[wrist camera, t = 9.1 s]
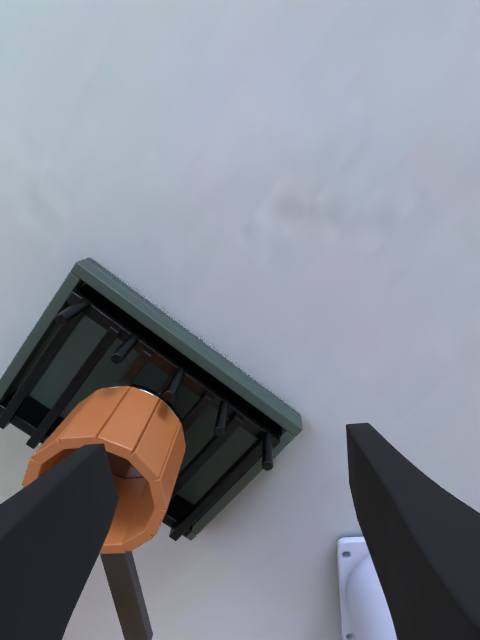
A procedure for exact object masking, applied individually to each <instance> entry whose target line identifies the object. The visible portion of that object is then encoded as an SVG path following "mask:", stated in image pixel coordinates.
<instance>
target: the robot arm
mask: <svg viewBox="0 0 480 640" xmlns="http://www.w3.org/2000/svg"><path fill="white" fill-rule="evenodd" d="M346 432H347V450H348V468H349V484H350V489H351V493H352V498H353V502H354V506H355V511H356V515H357V519H358V522H359V525H360V528H361V530H362V533H363V536H364V537H344V538H341V539H339V540H338V541H337V561H338V578H339V595H340V612H341V629H342V640H480V513H479V512H477V511H476V510H474V509H472V508H471V507H469V506H468V505H466V504H465V503H463V502H462V501H460V500H459V499H457V498H456V497H454V496H453V495H451V494H450V493H449V492H447V491H446V490H444V489H443V488H442V487H440V486H439V485H438V484H436V483H435V482H434V481H433V480H431V479H430V478H429V477H427V476H426V475H425V474H424V473H423V472H421V471H420V470H419V469H418V468H417V467H415V466H414V465H413V464H412V463H411V462H410V461H408V460H407V459H406V458H405V457H404V456H403V455H402V454H401V453H399V452H398V451H397V450H396V449H395V448H394V447H393V446H392V445H391V444H390V443H389V442H388V441H387V440H386V439H385V438H383V437H382V436H381V435H380V434H379V433H378V432H377V431H376V430H375V429H374V428H373V427H372V426H371V425H370V424H369V423H360V424H347V425H346ZM118 500H119V498H118V494H117V490H116V486H115V483H114V479H113V475H112V472H111V468H110V464H109V460H108V457H107V453H106V449H105V446H104V443H100V444H87V445H83V446H82V447H80V448H79V449H77V450H76V451H74V452H73V453H71V454H70V455H68V456H67V457H66V458H64V459H63V460H61V461H60V462H59V463H57V464H56V465H55V466H53V467H52V468H51V469H49V470H48V471H46V472H45V473H44V474H42V475H41V476H40V477H38V478H37V479H36V480H34V481H33V482H32V483H30V484H29V485H27V486H26V487H25V488H23V489H22V490H20V491H19V492H18V493H16V494H15V495H13V496H12V497H10V498H9V499H7V500H6V501H5V502H3V503H2V504H0V640H62V638H63V635H64V632H65V629H66V627H67V624H68V622H69V620H70V617H71V615H72V612H73V610H74V608H75V606H76V603H77V601H78V599H79V597H80V595H81V592H82V590H83V588H84V586H85V584H86V581H87V579H88V577H89V575H90V573H91V570H92V568H93V566H94V564H95V562H96V560H97V557H98V555H99V553H100V551H101V548H102V546H103V544H104V542H105V539H106V537H107V535H108V532H109V529H110V526H111V523H112V520H113V517H114V514H115V510H116V507H117V503H118ZM343 552H346V553H343Z"/></svg>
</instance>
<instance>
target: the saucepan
mask: <svg viewBox="0 0 480 640" xmlns="http://www.w3.org/2000/svg"><path fill="white" fill-rule="evenodd" d="M100 443H104V446H105V449H106V453H107V457H108V460H109V464H110V468H111V472H112V475H113V479H114V483H115V486H116V490H117V494H118V498H119V500H118V503H117V507H116V510H115V514H114V517H113V520H112V523H111V526H110V529H109V532H108V535H107V537H106V539H105V542H104V544H103V546H102V548H101V551H100V553H99V554H100V555H101V559H102V562H103V566H104V569H105V573H106V576H107V580H108V583H109V587H110V590H111V593H112V597H113V600H114V604H115V607H116V611H117V614H118V618H119V621H120V625H121V628H122V632H123V635H124V638H125V640H152V636H153V632H152V629H151V625H150V621H149V617H148V613H147V609H146V605H145V601H144V598H143V594H142V590H141V586H140V582H139V578H138V574H137V570H136V567H135V563H134V559H133V555H132V551H131V550H133V549H134V548H136V547H138V546H140V545H141V544H143V543H145V542H147V541H148V540H150V539H152V538H153V536H155V535H156V533H157V531H158V529H159V527H160V525H161V522H162V520H163V518H164V516H165V514H166V512H167V509H168V505H169V502H170V499H171V496H172V492H173V489H174V486H175V483H176V479H177V476H178V473H179V470H180V466H181V463H182V460H183V457H184V453H185V448H186V432H185V427H184V424H183V421H182V419H181V417H180V415H179V413H178V411H177V410H176V409H175V407H174V406H173V405H172V404H171V403H170V402H169V401H167V400H165V399H164V397H163V396H162V395H160V394H159V393H157V392H156V391H154V390H152V389H149V388H147V387H144V386H141V385H137V384H131V383H116V384H110V385H106V386H103V387H101V388H98V389H96V390H95V391H93V392H91V393H90V394H89V395H88V396H87V397H86V398H85V399H84V400H83V401H81V402H80V403H78V404H77V406H76V407H75V408H74V409H73V410H72V411H71V412H70V414H69V415H68V416H67V417H66V418H65V419H64V420H63V421H62V423H61V424H60V425H59V426H58V427H57V428H56V429H55V431H54V432H53V433H52V434H51V435H50V436H49V437H48V439H47V440H46V441H45V442H44V443H43V444H42V445H41V447H40V448H39V449H38V450H37V451H36V452H35V453H34V455H33V456H32V457H31V459H30V461H29V464H28V468H27V471H26V474H25V477H24V481H23V484H22V485H23V488H25V487H26V486H27V485H29V484H30V483H32V482H33V481H34V480H36V479H37V478H38V477H40V476H41V475H42V474H44V473H45V472H46V471H48V470H49V469H51V468H52V467H53V466H55V465H56V464H57V463H59V462H60V461H61V460H63V459H64V458H66V457H67V456H68V455H70V454H71V453H73V452H74V451H76V450H77V449H79V448H80V447H82V446H83V445H87V444H100ZM23 488H22V489H23Z"/></svg>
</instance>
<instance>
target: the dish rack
mask: <svg viewBox="0 0 480 640" xmlns="http://www.w3.org/2000/svg"><path fill="white" fill-rule="evenodd" d="M116 383H131V384H137V385H141V386H144V387H147V388H149V389H152V390H154V391H156V392H157V393H159V394H160V395H162V396H163V397H164V399H165V400H167V401H169V402H170V403H171V404H172V405H173V406H174V407H175V409H176V410H177V411H178V413H179V415H180V417H181V419H182V421H183V424H184V427H185V432H186V448H185V453H184V457H183V460H182V463H181V466H180V470H179V473H178V476H177V479H176V483H175V486H174V489H173V492H172V496H171V499H170V502H169V505H168V509H167V512H166V514H165V516H164V518H163V520H162V522H163V523H165V524H166V525H168V526H169V527H171V531H170V535H169V537H170V538H172V539H173V540H175V541H177V540H178V539H179V538H180V537H181V536H182V535H183V536H185V537H186V538H188V539H189V540H192V539H193V538H194V537H195V536H196V535H197V534H198V533H199V532H200V531H201V530H202V529H203V528H204V527H205V526H206V525H207V524H208V523H209V522H210V521H211V520H212V519H213V518H214V517H215V516H216V515H217V514H218V513H219V512H220V511H221V510H222V509H223V508H224V507H225V506H226V505H227V504H228V503H229V502H230V501H231V500H232V499H233V498H234V497H235V496H236V495H237V494H238V493H239V492H240V491H241V490H242V489H243V488H244V487H245V486H246V485H247V484H248V483H249V482H250V481H251V480H252V479H253V478H254V477H255V476H256V475H257V474H258V473H259V472H260V471H261V470H262V469H264V470H266V471H269V470H271V469H272V468H273V458H274V457H275V456H276V455H277V454H278V453H279V452H280V451H281V450H282V449H283V448H284V447H285V446H286V445H287V444H288V443H289V442H290V441H291V440H292V439H293V438H294V437H295V436H297V435H298V434H299V433H300V432H301V431H302V422H301V417H300V414H299V413H297V412H296V411H295V410H293V409H292V408H291V407H289V406H288V405H287V404H285V403H284V402H283V401H281V400H280V399H279V398H277V397H276V396H275V395H273V394H272V393H271V392H269V391H268V390H267V389H265V388H264V387H262V386H261V385H260V384H258V383H257V382H256V381H254V380H253V379H252V378H250V377H249V376H248V375H246V374H245V373H244V372H242V371H241V370H240V369H238V368H237V367H236V366H234V365H233V364H232V363H230V362H229V361H228V360H226V359H225V358H224V357H222V356H221V355H220V354H218V353H217V352H216V351H214V350H213V349H212V348H210V347H209V346H208V345H206V344H205V343H203V342H202V341H201V340H199V339H198V338H197V337H195V336H194V335H193V334H191V333H190V332H189V331H187V330H186V329H185V328H183V327H182V326H181V325H179V324H178V323H177V322H175V321H174V320H173V319H171V318H170V317H169V316H167V315H166V314H165V313H163V312H162V311H161V310H159V309H158V308H157V307H155V306H154V305H153V304H151V303H150V302H148V301H147V300H146V299H144V298H143V297H142V296H140V295H139V294H138V293H136V292H135V291H134V290H132V289H131V288H130V287H128V286H127V285H126V284H124V283H123V282H122V281H120V280H119V279H118V278H116V277H115V276H114V275H112V274H111V273H110V272H108V271H107V270H106V269H104V268H103V267H102V266H100V265H99V264H98V263H96V262H95V261H94V260H92V259H91V258H87V259H85V260H81V261H79V262H76V264H75V265H74V267H73V268H72V270H71V272H70V273H69V274H68V276H67V278H66V279H65V281H64V282H63V284H62V285H61V287H60V288H59V290H58V291H57V293H56V295H55V296H54V298H53V299H52V301H51V302H50V304H49V305H48V307H47V308H46V310H45V311H44V313H43V315H42V316H41V318H40V319H39V321H38V322H37V324H36V325H35V327H34V328H33V330H32V331H31V333H30V335H29V336H28V338H27V339H26V341H25V342H24V344H23V345H22V347H21V348H20V350H19V352H18V353H17V355H16V356H15V358H14V359H13V361H12V362H11V364H10V365H9V367H8V368H7V370H6V372H5V373H4V375H3V376H2V378H1V379H0V428H2V429H4V428H5V427H6V426H7V425H9V424H10V423H11V424H13V425H14V426H16V427H17V428H19V429H20V430H22V431H23V432H25V433H26V434H28V435H29V436H31V437H30V439H29V440H28V441H27V443H26V445H28V446H29V447H31V448H33V449H34V448H36V446H37V445H38V444H39V443H42V444H43V443H44V442H45V441H46V440H47V439H48V437H49V436H50V435H51V434H52V433H53V432H54V431H55V429H56V428H57V427H58V426H59V425H60V424H61V423H62V421H63V420H64V419H65V418H66V417H67V416H68V415H69V414H70V412H71V411H72V410H73V409H74V408H75V407H76V406H77V404H78V403H80V402H81V401H83V400H84V399H85V398H86V397H87V396H88V395H89V394H90V393H91V392H93V391H95V390H96V389H98V388H101V387H103V386H106V385H110V384H116Z"/></svg>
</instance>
